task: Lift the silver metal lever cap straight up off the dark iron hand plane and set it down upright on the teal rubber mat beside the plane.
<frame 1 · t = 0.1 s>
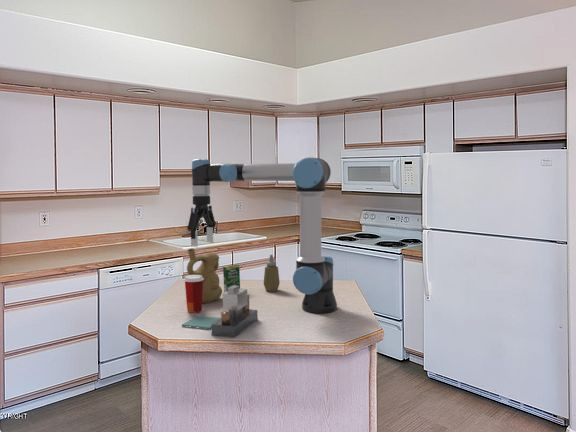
hand: (202, 244, 211), 28 cm above the table, tool pointing down, fingers open, 13 cm apart
coffee box: (232, 292, 240), on the table
squeeze bottle: (271, 290, 242), on the table
rubber mat: (203, 323, 191), on the table
coffee cup: (194, 311, 208), on the table
ceramic vessel: (203, 300, 225), on the table
lever cap: (235, 306, 185), point 8 cm above the table, touching hand plane
hand plane: (235, 327, 186), on the table
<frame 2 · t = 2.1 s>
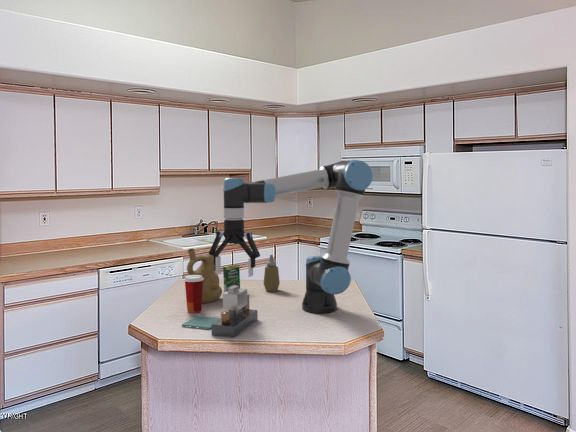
hand: (234, 274, 184), 20 cm above the table, tool pointing down, fingers open, 13 cm apart
nothing on the table moved.
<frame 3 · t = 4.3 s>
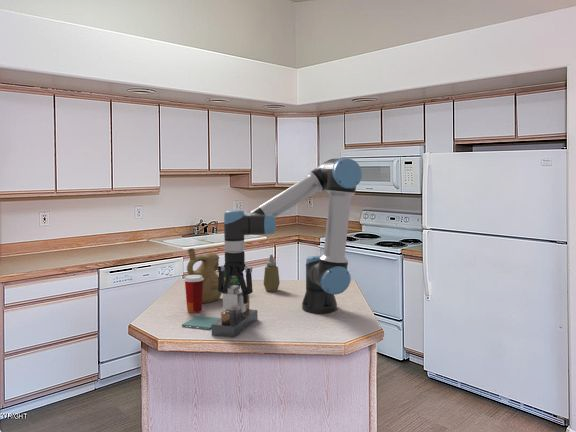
hand: (235, 310, 186), 6 cm above the table, tool pointing down, fingers closed on lever cap, 6 cm apart
lever cap: (235, 306, 185), point 8 cm above the table, touching gripper, hand plane
everything else where it was.
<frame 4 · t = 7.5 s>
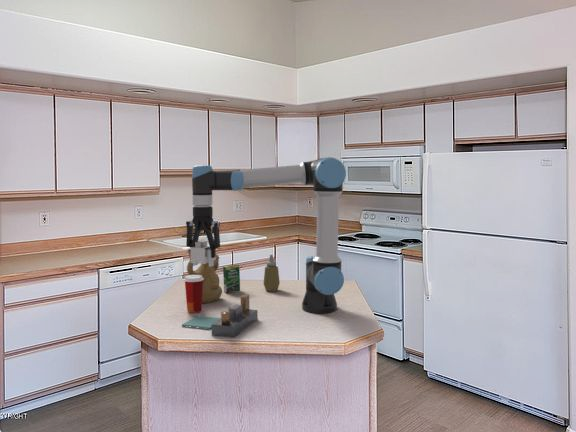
hand: (203, 265, 188), 23 cm above the table, tool pointing down, fingers closed on lever cap, 6 cm apart
lever cap: (203, 261, 188), point 25 cm above the table, touching gripper
everything else where it was.
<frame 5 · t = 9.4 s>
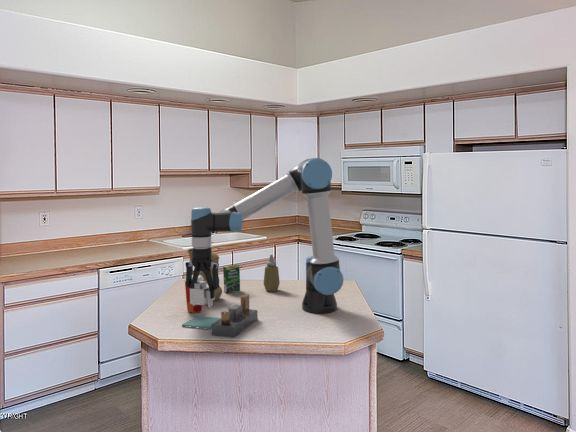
hand: (202, 305, 190), 7 cm above the table, tool pointing down, fingers closed on lever cap, 6 cm apart
lever cap: (202, 301, 190), point 9 cm above the table, touching gripper
everything else where it was.
when the fingers open (2 cm above the table, at t = 11.1 s): lever cap drops 3 cm, resting on rubber mat.
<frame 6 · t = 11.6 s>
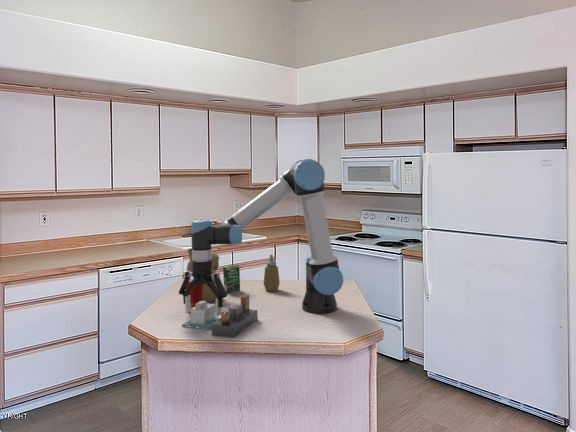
hand: (203, 313, 190), 4 cm above the table, tool pointing down, fingers open, 13 cm apart
lever cap: (203, 321, 191), point 1 cm above the table, touching rubber mat
everything else where it was.
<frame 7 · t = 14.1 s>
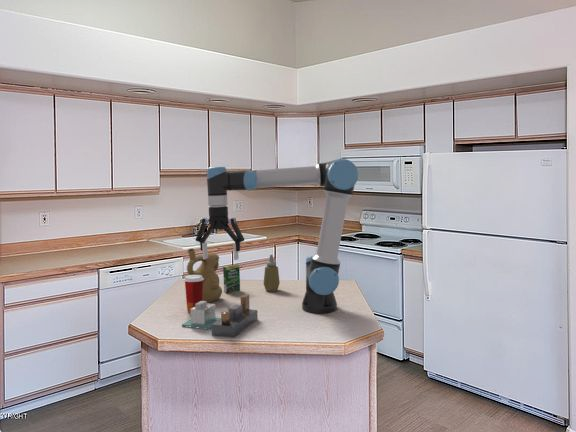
hand: (220, 259, 194), 25 cm above the table, tool pointing down, fingers open, 13 cm apart
nothing on the table moved.
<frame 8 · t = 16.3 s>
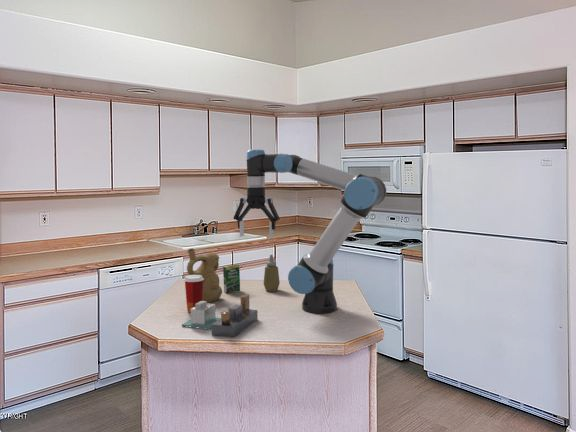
hand: (256, 236, 206), 32 cm above the table, tool pointing down, fingers open, 13 cm apart
nothing on the table moved.
at the end: lever cap inside the target area (0.1 cm from its centre), point 0.8 cm above the table; lever cap tilted 0°; the gripper is holding nothing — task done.
